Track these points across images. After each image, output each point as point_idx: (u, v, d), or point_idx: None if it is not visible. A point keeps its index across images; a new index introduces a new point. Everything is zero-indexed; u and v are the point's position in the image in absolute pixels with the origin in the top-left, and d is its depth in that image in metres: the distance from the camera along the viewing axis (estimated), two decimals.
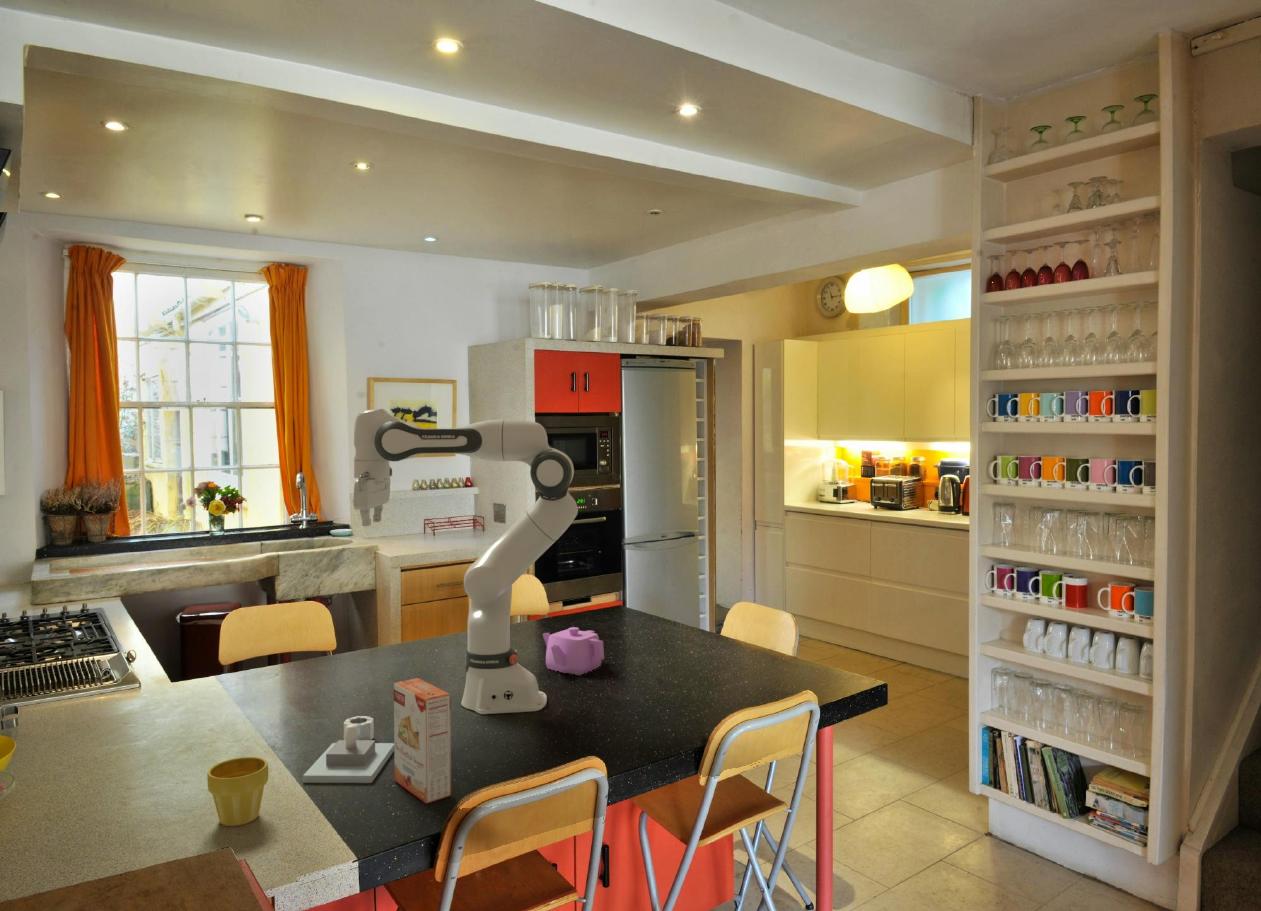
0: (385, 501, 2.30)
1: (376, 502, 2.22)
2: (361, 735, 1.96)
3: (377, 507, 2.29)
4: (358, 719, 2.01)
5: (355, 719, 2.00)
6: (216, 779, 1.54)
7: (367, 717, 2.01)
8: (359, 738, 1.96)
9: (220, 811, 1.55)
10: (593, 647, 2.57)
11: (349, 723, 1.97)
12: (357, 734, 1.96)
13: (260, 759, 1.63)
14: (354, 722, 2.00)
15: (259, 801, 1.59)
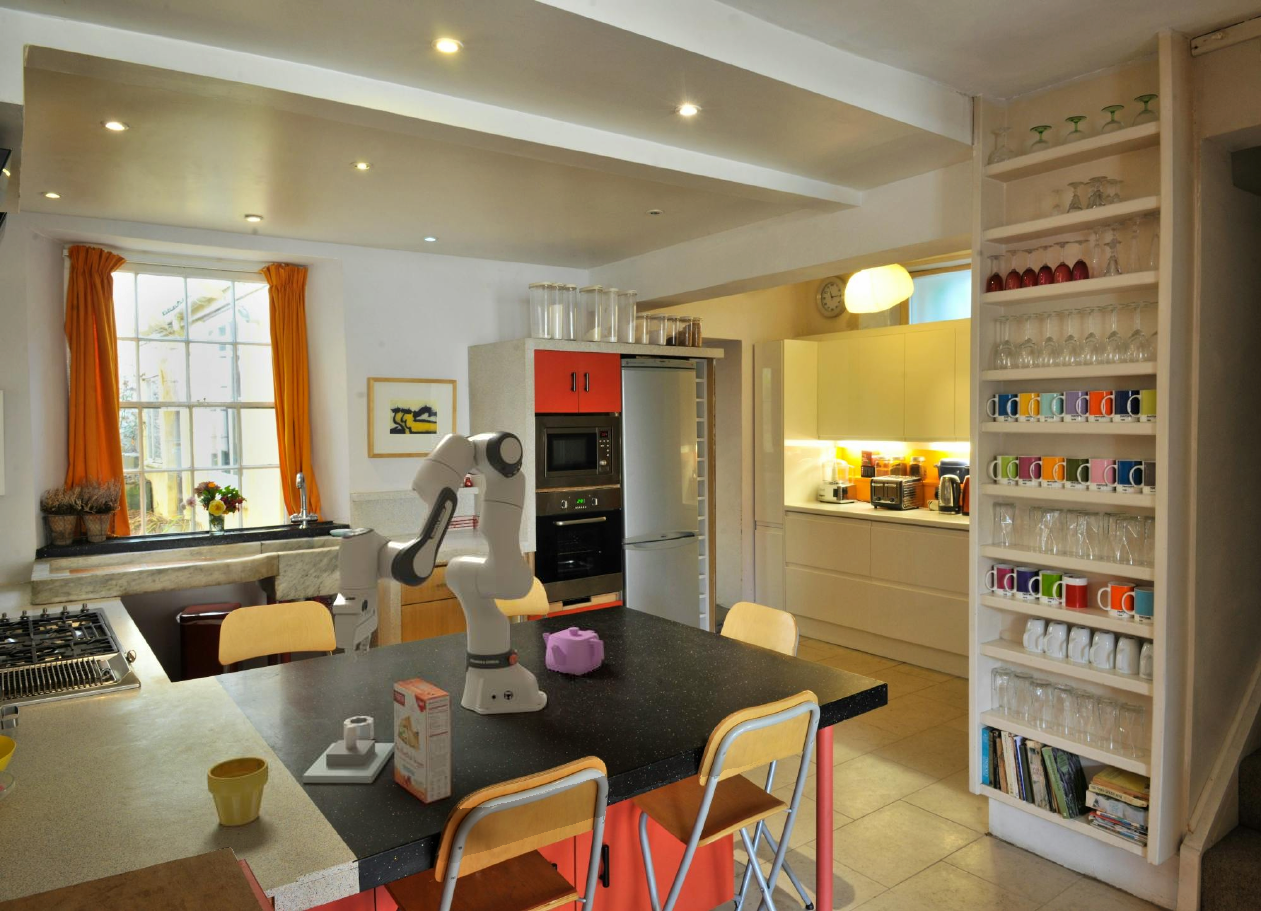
0: None
1: None
2: (361, 735, 1.96)
3: None
4: (358, 719, 2.01)
5: (355, 719, 2.00)
6: (216, 779, 1.54)
7: (367, 717, 2.01)
8: (359, 738, 1.96)
9: (220, 811, 1.55)
10: (593, 647, 2.57)
11: (349, 723, 1.97)
12: (357, 734, 1.96)
13: (260, 759, 1.63)
14: (354, 722, 2.00)
15: (259, 801, 1.59)
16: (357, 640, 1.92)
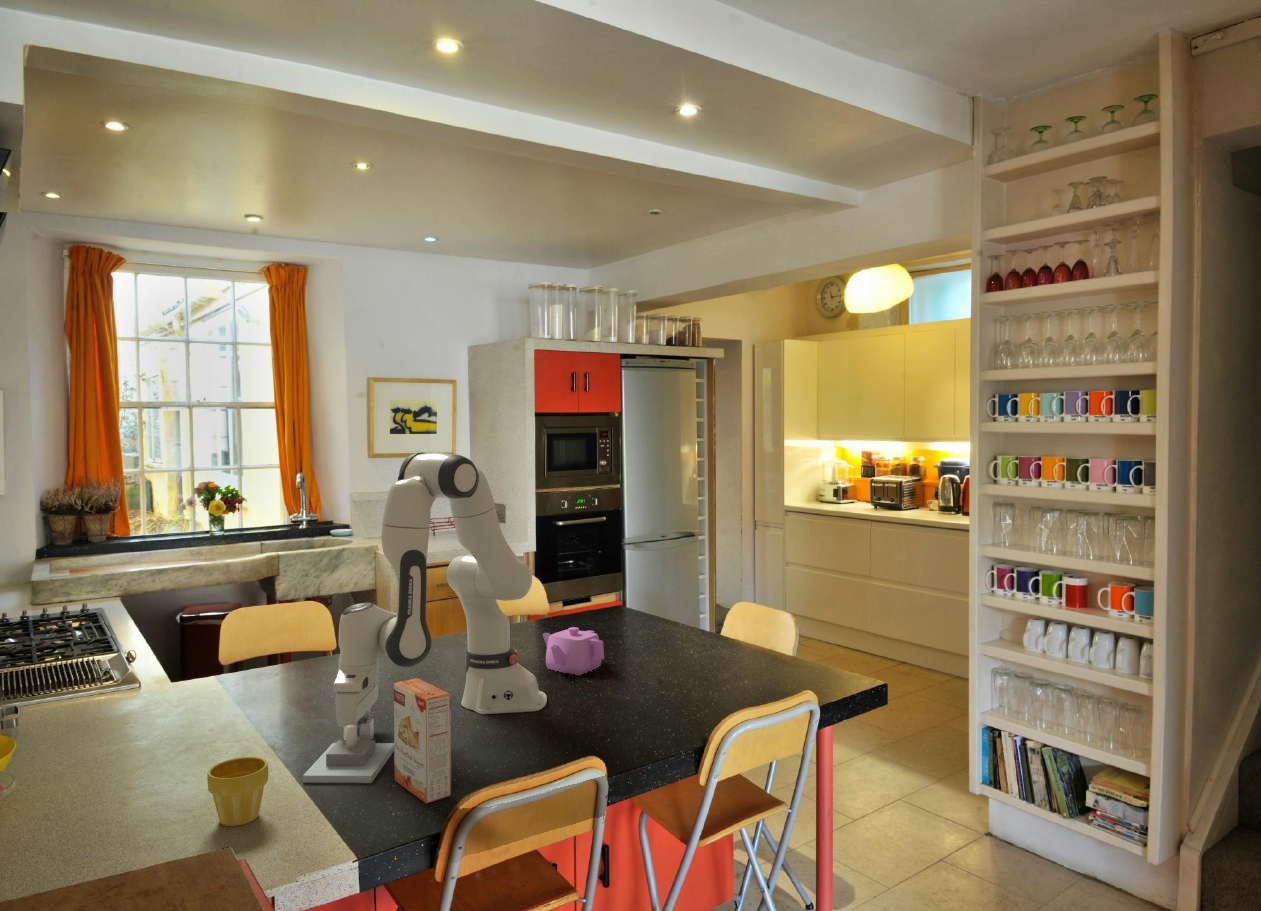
0: None
1: None
2: (361, 735, 1.96)
3: None
4: None
5: None
6: (216, 779, 1.54)
7: (367, 717, 2.01)
8: (359, 738, 1.96)
9: (220, 811, 1.55)
10: (593, 647, 2.57)
11: None
12: None
13: (260, 759, 1.63)
14: None
15: (259, 801, 1.59)
16: (358, 718, 1.92)
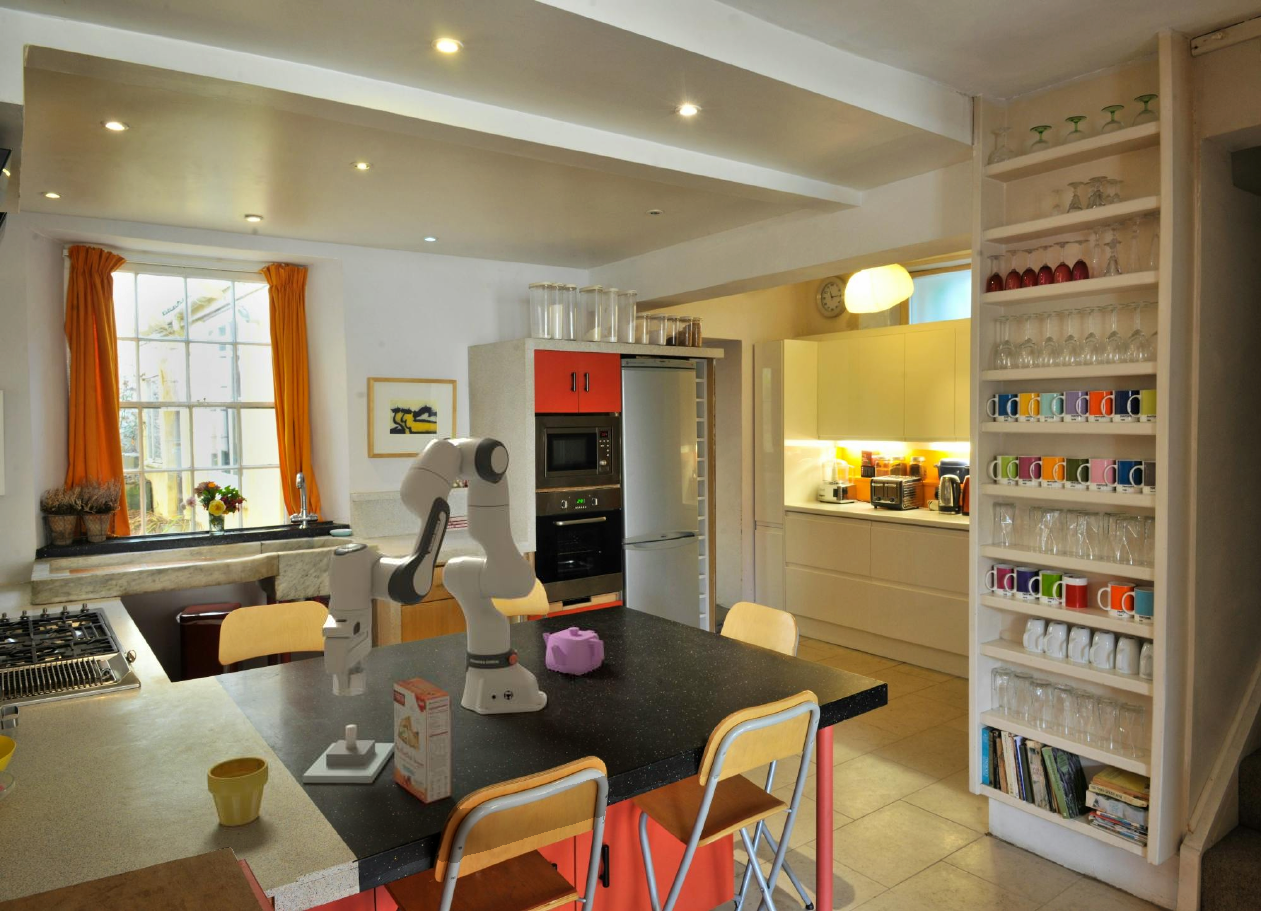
0: None
1: None
2: (352, 686, 1.81)
3: None
4: (349, 670, 1.85)
5: None
6: (216, 779, 1.54)
7: (359, 667, 1.86)
8: (349, 689, 1.81)
9: (220, 811, 1.55)
10: (593, 647, 2.57)
11: None
12: None
13: (260, 759, 1.63)
14: None
15: (259, 801, 1.59)
16: (348, 666, 1.77)
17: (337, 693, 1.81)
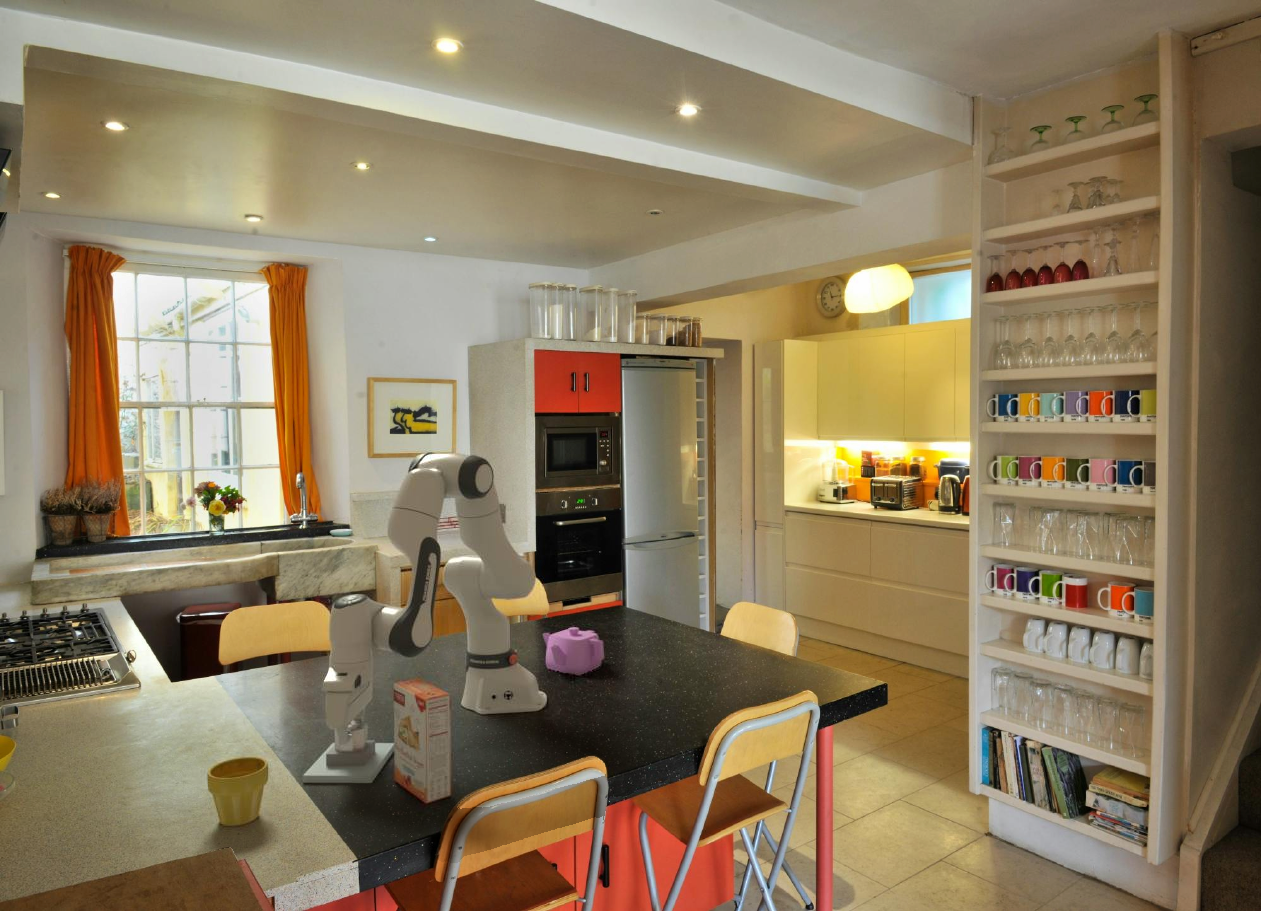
0: None
1: None
2: (353, 742, 1.81)
3: None
4: (350, 724, 1.86)
5: None
6: (216, 779, 1.54)
7: (361, 722, 1.86)
8: (351, 745, 1.81)
9: (220, 811, 1.55)
10: (593, 647, 2.57)
11: None
12: (349, 741, 1.81)
13: (260, 759, 1.63)
14: None
15: (259, 801, 1.59)
16: (350, 719, 1.77)
17: (339, 749, 1.81)
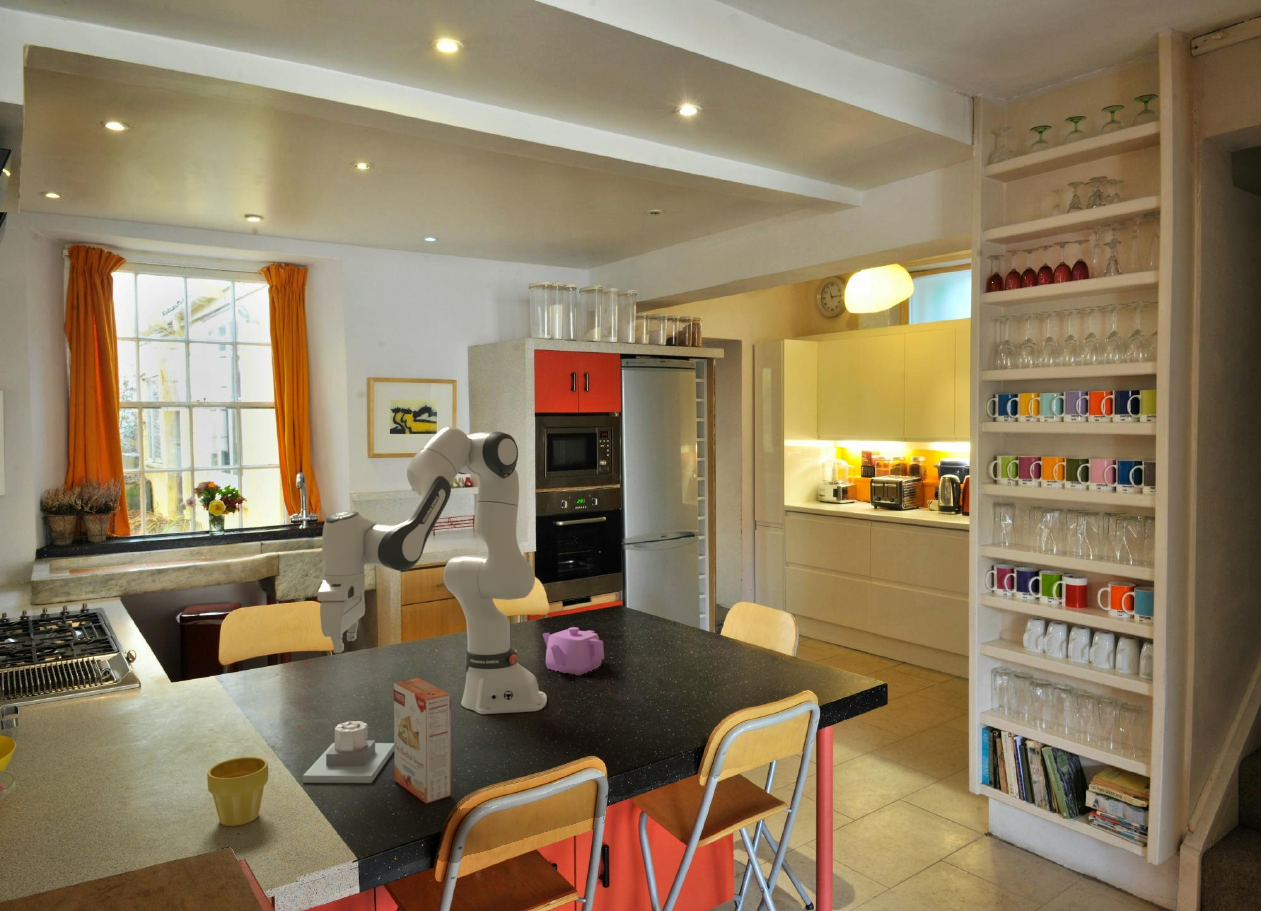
0: None
1: None
2: (353, 742, 1.81)
3: None
4: (350, 724, 1.86)
5: (347, 724, 1.85)
6: (216, 779, 1.54)
7: (361, 722, 1.86)
8: (351, 745, 1.81)
9: (220, 811, 1.55)
10: (593, 647, 2.57)
11: (341, 729, 1.82)
12: (349, 741, 1.81)
13: (260, 759, 1.63)
14: None
15: (259, 801, 1.59)
16: (344, 628, 1.85)
17: (339, 749, 1.81)
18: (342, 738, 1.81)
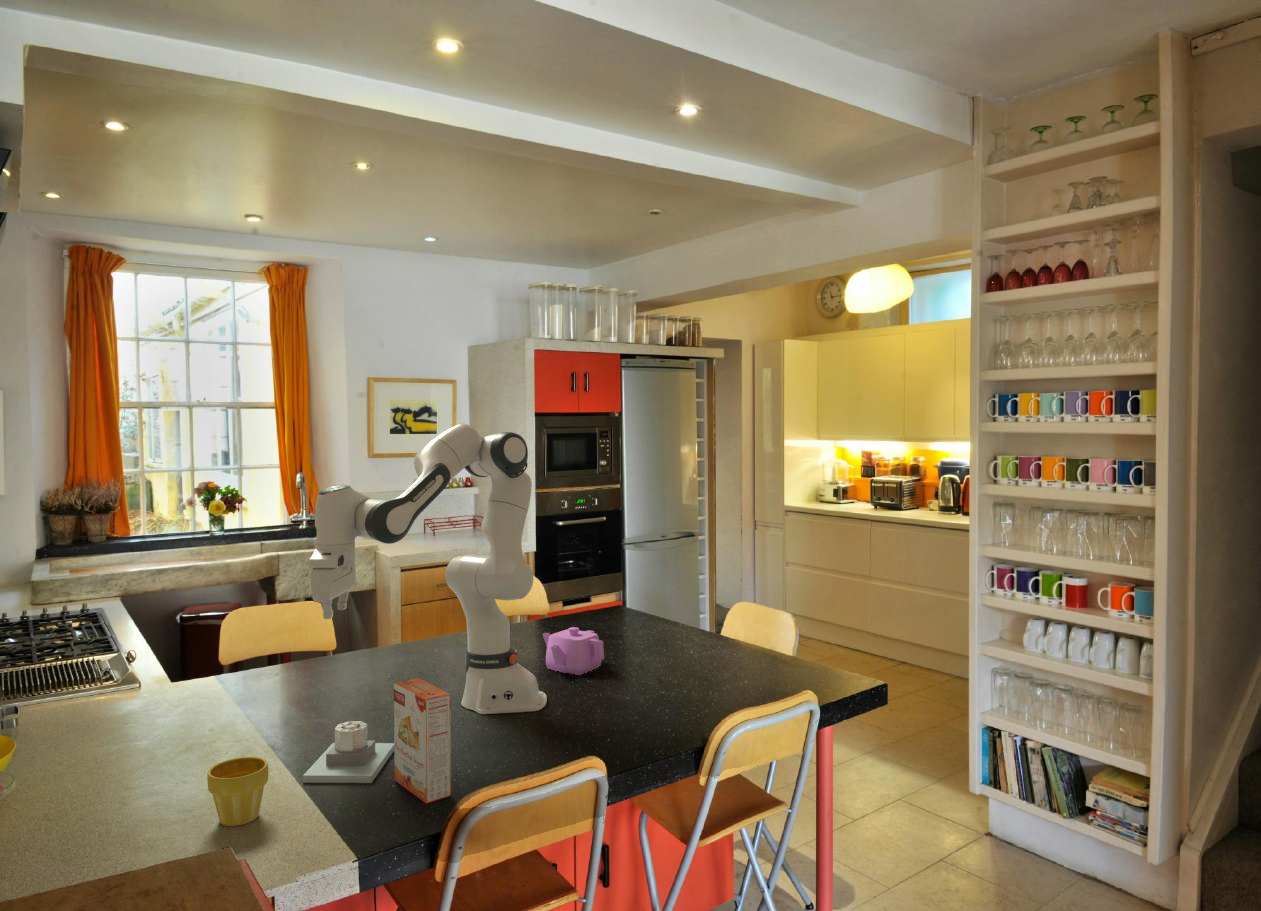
0: None
1: None
2: (353, 742, 1.81)
3: None
4: (350, 724, 1.86)
5: (347, 724, 1.85)
6: (216, 779, 1.54)
7: (361, 722, 1.86)
8: (351, 745, 1.81)
9: (220, 811, 1.55)
10: (593, 647, 2.57)
11: (341, 729, 1.82)
12: (349, 741, 1.81)
13: (260, 759, 1.63)
14: None
15: (259, 801, 1.59)
16: (333, 595, 1.93)
17: (339, 749, 1.81)
18: (342, 738, 1.81)
